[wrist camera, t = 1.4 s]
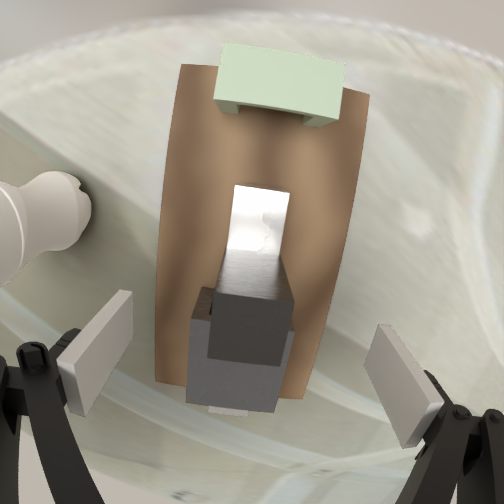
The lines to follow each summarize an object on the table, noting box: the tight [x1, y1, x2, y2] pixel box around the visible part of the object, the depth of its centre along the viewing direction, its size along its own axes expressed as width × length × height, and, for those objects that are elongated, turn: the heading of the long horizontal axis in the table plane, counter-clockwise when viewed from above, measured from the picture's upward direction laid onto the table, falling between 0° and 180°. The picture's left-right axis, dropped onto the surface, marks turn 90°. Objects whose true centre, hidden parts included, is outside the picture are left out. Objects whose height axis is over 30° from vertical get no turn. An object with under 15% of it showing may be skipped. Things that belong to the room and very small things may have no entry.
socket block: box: [213, 43, 346, 128], centre depth 21 cm, size 8×4×6 cm, turn 82°
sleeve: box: [186, 287, 295, 413], centre depth 27 cm, size 8×8×6 cm
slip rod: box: [207, 182, 295, 417], centre depth 23 cm, size 4×21×12 cm, turn 172°
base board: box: [155, 64, 370, 399], centre depth 28 cm, size 16×31×1 cm, turn 172°
